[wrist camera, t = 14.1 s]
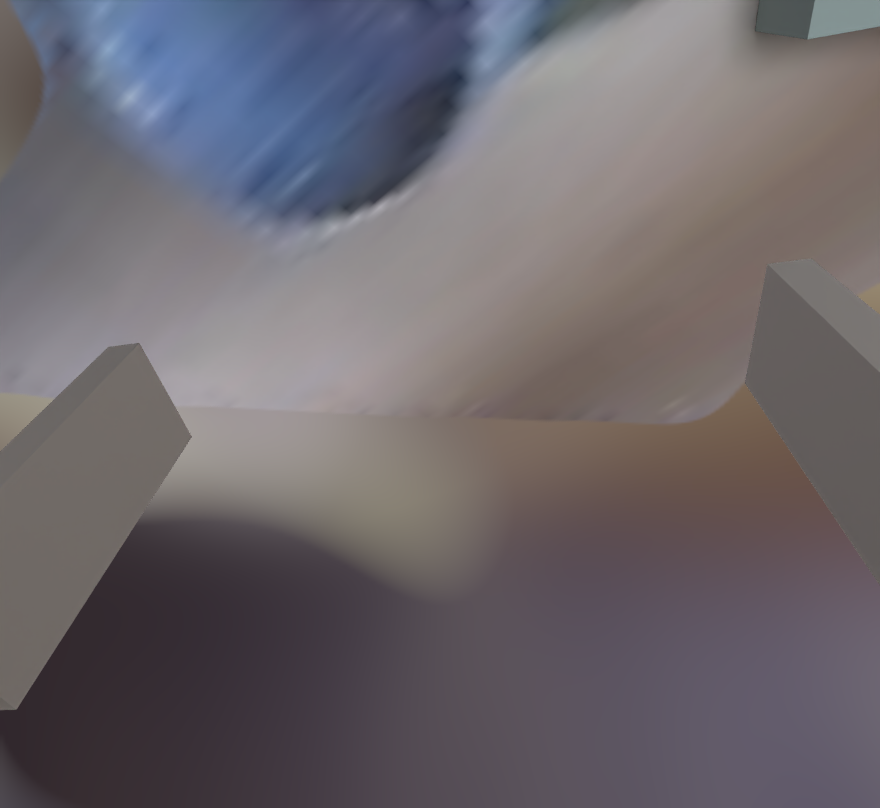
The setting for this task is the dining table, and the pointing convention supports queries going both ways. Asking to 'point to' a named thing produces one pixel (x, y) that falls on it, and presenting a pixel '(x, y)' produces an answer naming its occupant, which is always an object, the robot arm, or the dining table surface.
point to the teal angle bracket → (816, 17)
